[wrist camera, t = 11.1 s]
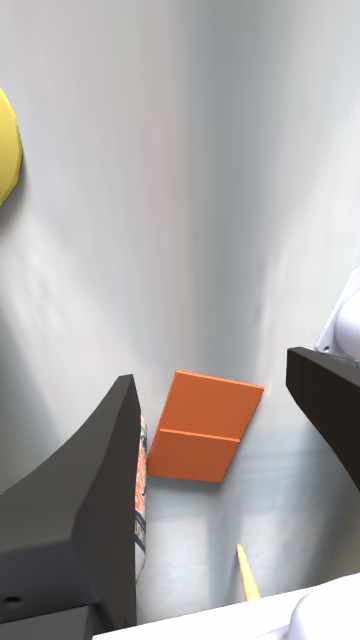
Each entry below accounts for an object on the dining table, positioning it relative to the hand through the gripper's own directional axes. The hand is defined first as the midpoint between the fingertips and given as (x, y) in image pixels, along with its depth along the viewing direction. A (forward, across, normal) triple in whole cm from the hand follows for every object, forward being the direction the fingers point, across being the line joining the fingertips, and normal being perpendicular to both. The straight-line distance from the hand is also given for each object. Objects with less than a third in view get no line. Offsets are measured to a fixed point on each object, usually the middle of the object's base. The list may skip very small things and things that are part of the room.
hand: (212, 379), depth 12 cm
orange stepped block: (+10, 0, +14) cm, 17 cm away
